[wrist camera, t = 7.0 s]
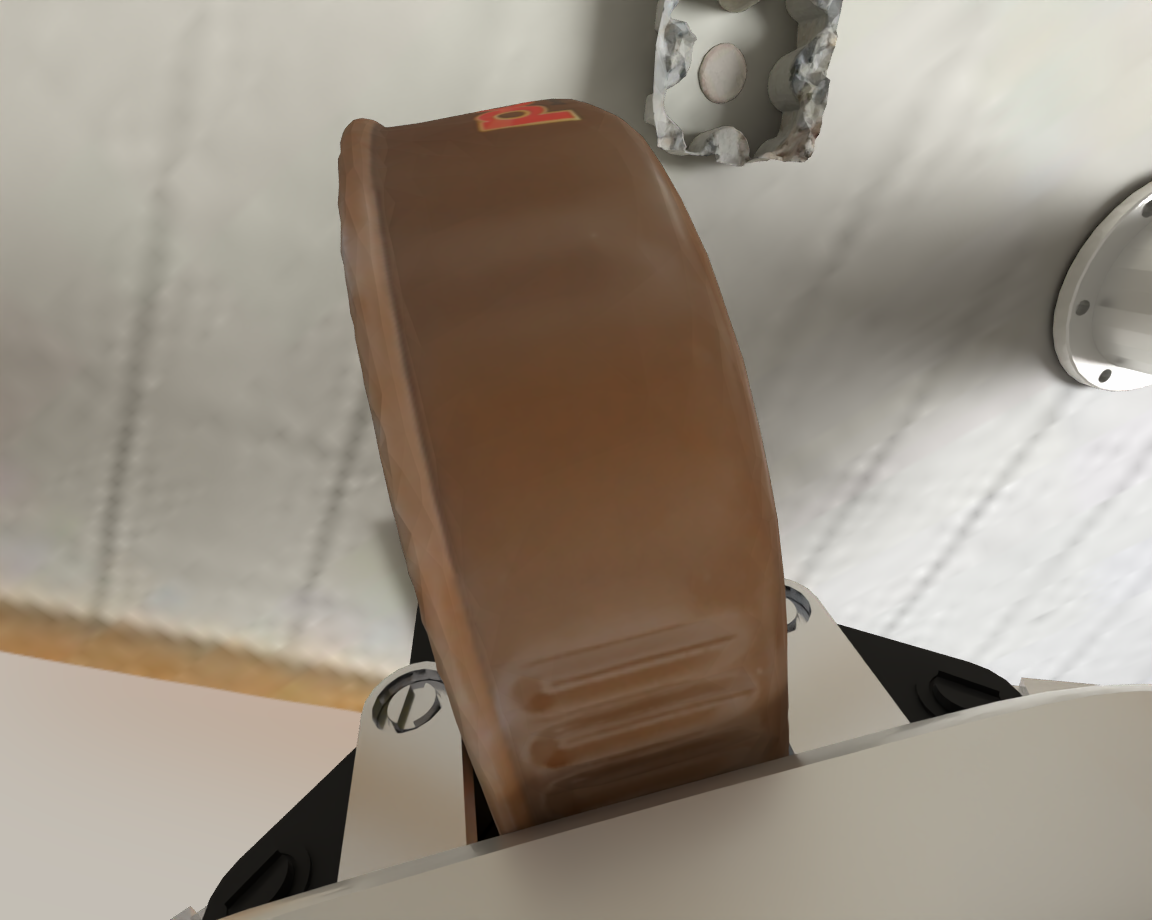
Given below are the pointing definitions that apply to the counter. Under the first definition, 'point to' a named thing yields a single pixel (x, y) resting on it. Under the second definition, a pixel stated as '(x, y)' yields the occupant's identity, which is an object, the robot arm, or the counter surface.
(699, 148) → the egg carton
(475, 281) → the tin
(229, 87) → the counter surface
